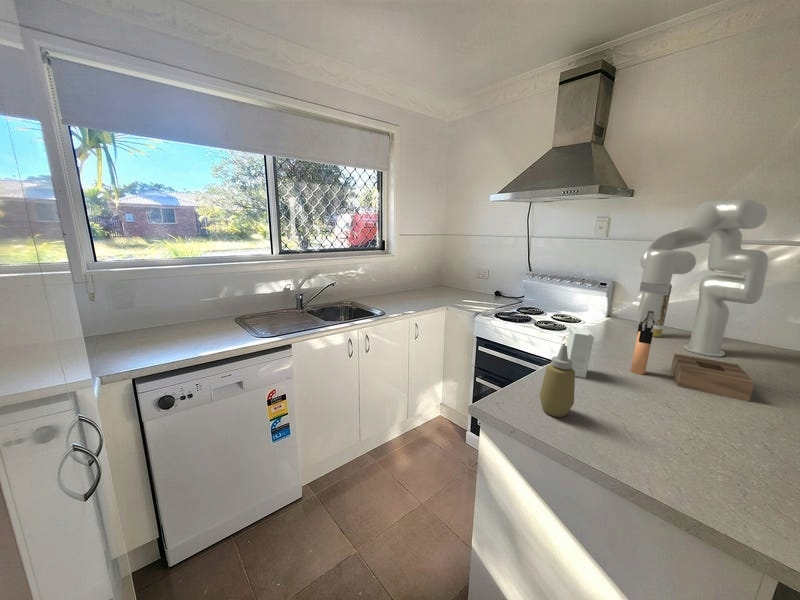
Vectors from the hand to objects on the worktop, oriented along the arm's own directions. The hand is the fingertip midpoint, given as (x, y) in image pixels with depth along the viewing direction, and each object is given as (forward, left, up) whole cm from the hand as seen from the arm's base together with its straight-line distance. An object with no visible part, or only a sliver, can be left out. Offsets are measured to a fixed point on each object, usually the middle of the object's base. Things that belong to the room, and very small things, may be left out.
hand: (643, 339), depth 109 cm
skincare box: (+14, -18, -12) cm, 25 cm away
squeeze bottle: (+45, -19, -12) cm, 50 cm away
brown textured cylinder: (-58, +8, -12) cm, 60 cm away
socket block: (-3, +18, -12) cm, 22 cm away
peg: (0, 0, -12) cm, 12 cm away
